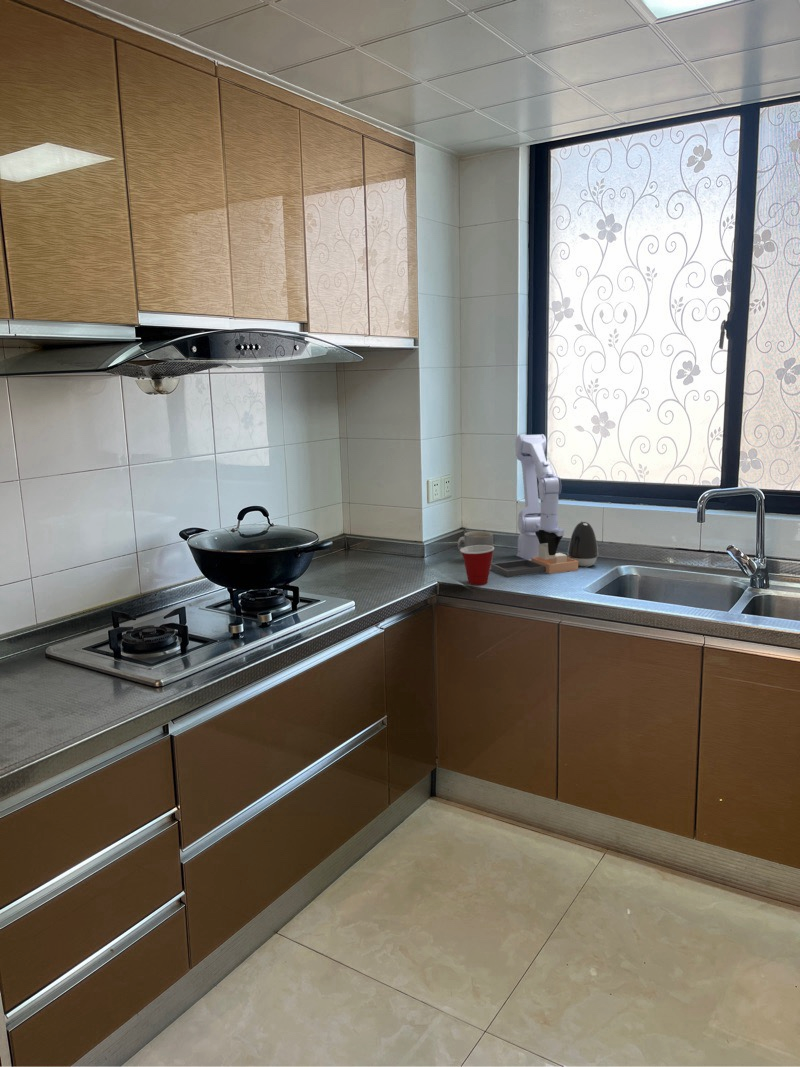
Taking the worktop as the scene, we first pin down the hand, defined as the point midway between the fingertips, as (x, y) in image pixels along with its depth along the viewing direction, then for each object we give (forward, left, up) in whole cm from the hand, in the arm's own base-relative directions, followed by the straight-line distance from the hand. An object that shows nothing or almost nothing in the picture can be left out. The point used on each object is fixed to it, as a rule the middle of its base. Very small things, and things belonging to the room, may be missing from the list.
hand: (548, 553), depth 268 cm
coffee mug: (-23, -15, -6) cm, 28 cm away
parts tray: (-2, -10, -6) cm, 12 cm away
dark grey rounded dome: (-1, +15, -6) cm, 16 cm away
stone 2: (0, +4, -5) cm, 7 cm away
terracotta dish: (0, +3, -6) cm, 6 cm away
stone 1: (0, -1, -1) cm, 2 cm away
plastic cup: (+5, -29, -6) cm, 31 cm away
